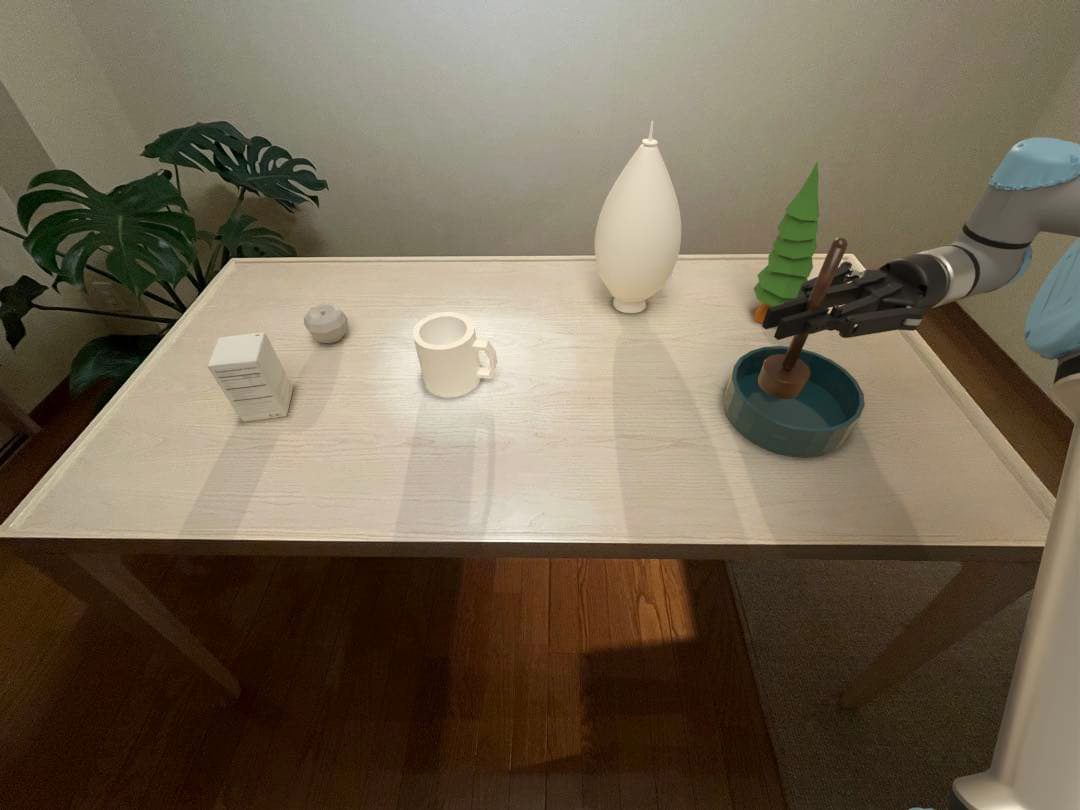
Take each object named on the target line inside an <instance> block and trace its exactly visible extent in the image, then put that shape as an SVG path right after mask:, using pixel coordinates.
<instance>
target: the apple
mask: <svg viewBox="0 0 1080 810" xmlns="http://www.w3.org/2000/svg"><path fill="white" fill-rule="evenodd" d="M348 322H349V321H348V316H346V314H345V313H344V311H343V310H342V309H341V308H340V306H339V304H335V303H334V304H333V303H322V304H318V305H315V306H313V307H311V308H309V310H308V311H307V312H306V314H305V315H304V316H303V326H305V328H306V329H307V331H308V332H309V334H310V335H311V336H312V337H313V339H315V340H316V341H318V342H319V343H323V344H334V343H337V342H340V341H341V340H342V338H343V337H344V336H345V334H346V332H347V329H348V327H349V326H348V325H349V323H348Z"/></svg>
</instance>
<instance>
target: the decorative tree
mask: <svg viewBox="0 0 1080 810" xmlns="http://www.w3.org/2000/svg"><path fill="white" fill-rule="evenodd" d="M819 177H820V176H819V165H818V161H816V162H815V164H814V166H813V168H812V170H811V172H810V174H809V176H808V177H807V178H806V180H805V182H804V184H803V185H802V187H801V188H800V190H799V192H798V193H797V194H796V196H795V197H793V199H792V200H791V201H790V203H789V204H788V205H787V206H786V207H785V209H784V210H785V211H786V213H785V214H784V216H783V217H782V219H781V221H780V222H779V224H778V226H777V230H778V235H777V236H776V238H775V240H774V241H773V242H772V246H773V249H772V250H771V252H770V253H769V254H768V261H767V263H768V264H767V265H766V266H765V267H764V268H763V269H761V270H760V271H759V273H757V274H756V276H757V278H758V282H757V283H756V285H754V287H753V291H754V294H755V298H756V300H757V301H758V302H761V304H760V305H759V306H758V307H757V308H756V309H755V310H754V322H757V323H761V324H763V321H764V318H765V315H766V312H767V310H768V308H770V307H774V306H778V305H781V304H783V303H784V302H785V301H786V300H789V299H793V298H796V297H797V294H798V292H799V289H800V287H801V284H802V283H804V282H806V281H808V280H809V279H808V278H809V277H810V274H811V273H812V271H813V268H814V263H813V257H814V255H815V252H816V250H817V248H818V244H817V233H818V229H819V223H818V219H819V218H820V207H819V197H818V195H819Z"/></svg>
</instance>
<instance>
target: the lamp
mask: <svg viewBox="0 0 1080 810" xmlns="http://www.w3.org/2000/svg"><path fill="white" fill-rule="evenodd" d="M658 144H659V142H658V140H656V139H655V138H654V120H651V122H650V126H649V131H648V137H647V138H643V139H642V140H641V144H640V145H639V147H638V148H637V149H636V150H635V151H634V153H633V155H632V156H631V158H630V159H629V161H628V162H627V163H626V164H625V166H624V168H623V170H622V171H621V172H620V174H619V175H618V177H617V178H616V180H615V182H614V184H613V186H612V187H611V189H610V190H609V193H608V195H606V198H605V200H604V202H603V205H602V208H601V211H600V213H599V216H598V219H597V224H596V229H595V234H594V258H595V263H596V268H597V271H598V274H599V276H600V279H601V281H602V282H603V285H604V286H605V287H606V289H607V290H608V291H609V293H610V294H611V295H612V296H613V297H614V298H613V302H612V303H613V307H614V308H615V309H616V310H617V311H618V312H621V313H624V314H638V313H640V312H643V311H644V310H646V307H647V301H646V300H648V299H650V298H652V297H653V296H654V295H655V294H656V293H658V292H659V291H660V290H661V288H663V287H664V285H665V284H666V283H667V282H668V280H669V279H670V277H671V275H672V274H673V271H674V268H675V266H676V264H677V261H678V258H679V255H680V252H681V251H680V250H681V245H682V216H681V209H680V204H679V201H678V197H677V194H676V190H675V187H674V184H673V181H672V178H671V176H670V173H669V171H668V168H667V165H666V163H665V161H664V159H663V156H662V154H661V152H660V149H659V147H658Z"/></svg>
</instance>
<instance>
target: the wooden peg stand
mask: <svg viewBox="0 0 1080 810" xmlns="http://www.w3.org/2000/svg"><path fill="white" fill-rule="evenodd" d="M848 246H849V243H848V240H847V239H846V238H845V237H837V238H835V239H833V240H832V242H831V244H830V246H829V249H828V251H827V253H826V256H825V258H824V260H823V263H822V266H821V268H820V270H819V273H818V275H817V276H816V277H817V280H816V282H815V285H814V287H813V290H812V292H811V294H810V297H809V299H808V302H807V304H806V307H805V309H804V311H803V312H806V311H809V310H813V309H816V308H820V307H821V305H822V303H823V301H824V298H825V296H826V294H827V292H828V289H829V287H830V285H831V282H832V280H833V278H834V276H835V273H836V271H837V269H838V268H839V266H840V265H841V262H842V260H843V258H844V255H845V253H846V250H847V248H848ZM809 335H810V334H807V333H806V332H804V333H801V334H797V335H794V336H792V338H791V340H790V342H789V343H790V344H789V346H788V347H789V348H788V350H787V353H786V355H784V354H777V355H772V356H770V357H768V358H767V359H766V360H765V361H764V364H763V366H762V369H761V372H760V374H759V377H758V384H759V386H760V387H761V389H762V390H763V391H764V392H766V393H767V394H769V395H771V396H773V397H776V398H780V399H793V398H796V397H798V396H800V395H801V394H802V392H803V390H804V388H805V386H806V383H807V381H808V379H809V377H810V369H809V367H808V366H807V365H806V364H805V363H804V362H803V361H801V360H800V359H798V358H799V356H800V353H801V351H802V349H804V346H805V344H806V342H807V339H808V337H809Z"/></svg>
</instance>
